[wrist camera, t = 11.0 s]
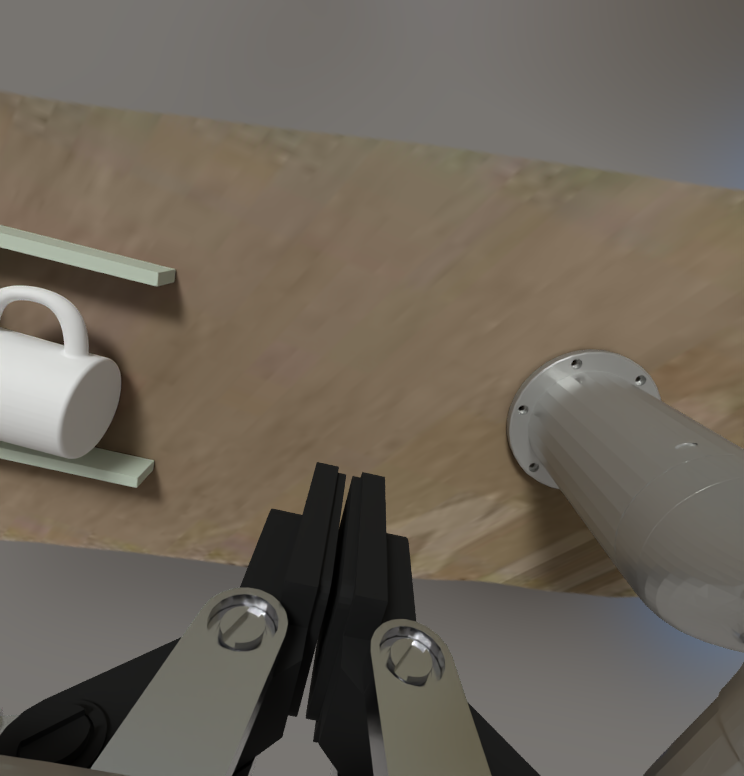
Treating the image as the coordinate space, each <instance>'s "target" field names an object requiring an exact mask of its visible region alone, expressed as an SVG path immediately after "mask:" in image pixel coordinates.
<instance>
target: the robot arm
mask: <svg viewBox="0 0 744 776" xmlns="http://www.w3.org/2000/svg"><path fill="white" fill-rule="evenodd" d="M573 360H575V362H574V363H573V364H571V363H572V362H573ZM522 405H523V407H522V408H521V409H518V408H519V407H520V406H522ZM507 437H508V442H509V446H510V448H511V450H512V453H513V455H514V457H515V458H516V460H517V461H518V463H519V465H520V466H521V467H522V468H523V470H524V471H525V472H526V473H527V474H528V475H529V476H531V477H532V478H534V479H535V480H537V481H538V482H540V483H542V484H544V485H546V486H549V487H551V488H556V489H560V490H561V491H562V493H563V494H564V496H565V497H566V498H567V500H568V501H569V502H570V504H571V505H572V507H573V508H574V509H575V511H576V512H577V514H578V515H579V516H580V518H581V519H582V520H583V522H584V523H585V525H586V526H587V527H588V529H589V530H590V531H591V533H592V534H593V536H594V537H595V538H596V540H597V541H598V542H599V544H600V545H601V547H602V548H603V549H604V551H605V552H606V553H607V555H608V556H609V558H610V559H611V560H612V562H613V563H614V564H615V566H616V567H617V569H618V570H619V571H620V573H621V574H622V575H623V577H624V578H625V579H626V580H627V582H628V583H629V584H630V586H631V587H632V589H633V590H634V591H635V593H636V594H637V595H638V596H639V598H640V599H641V600H642V601H643V602H644V603H645V605H647V607H649V608H650V610H652V611H653V612H654V613H655V614H656V615H657V616H658V617H659V618H661V619H662V620H664V621H665V622H666V623H668V624H669V625H671V626H673V627H674V628H676V629H677V630H679V631H681V632H683V633H685V634H687V635H690V636H692V637H695V638H697V639H700V640H702V641H704V642H707V643H710V644H714V645H717V646H720V647H724V648H727V649H731V650H735V651H739V652H744V449H743V448H741V447H739V446H738V445H736V444H734V443H732V442H731V441H729V440H727V439H726V438H724V437H722V436H720V435H719V434H717V433H715V432H714V431H712V430H710V429H708V428H707V427H705V426H703V425H702V424H700V423H698V422H697V421H695V420H693V419H691V418H690V417H688V416H686V415H685V414H683V413H681V412H679V411H678V410H676V409H674V408H673V407H671V406H669V405H667V404H666V403H664V402H662V401H661V398H660V394H659V391H658V388H657V386H656V384H655V383H654V381H653V379H652V378H651V376H650V375H649V374H648V373H647V372H646V371H645V370H644V369H643V368H642V367H641V366H640V365H638V364H637V363H635V362H633V361H632V360H630V359H628V358H626V357H624V356H622V355H620V354H617V353H613V352H610V351H606V350H594V349H588V350H580V351H573V352H570V353H567V354H564V355H560V356H558V357H556V358H554V359H552V360H550V361H548V362H546V363H545V364H544V365H542V366H541V367H540V368H538V369H537V370H535V371H534V372H533V373H532V374H531V375H530V376H529V377H528V378H527V379H526V380H525V381H524V382H523V384H522V385H521V387H520V388H519V390H518V391H517V393H516V394H515V396H514V399H513V401H512V403H511V406H510V409H509V413H508V418H507ZM532 463H533V464H532ZM530 464H531V465H530ZM338 469H339V467H337V466H333V465H328V464H324V463H319V462H317V464H316V468H315V471H314V475H313V479H312V482H311V486H310V490H309V493H308V497H307V501H306V504H305V508H304V512H303V515H300V514H295V513H290V512H286V511H281V510H276V509H271V510H270V513H269V515H268V518H267V520H266V523H265V525H264V528H263V530H262V533H261V535H260V538H259V540H258V543H257V546H256V548H255V551H254V553H253V556H252V558H251V561H250V563H249V566H248V568H247V571H246V574H245V576H244V578H243V581H242V584H241V586H240V588H234V589H230V590H226V591H223V592H221V593H219V594H217V595H216V596H214V597H212V598H211V599H210V600H209V601H208V602H207V603H206V604H205V605H204V606H203V607H202V609H201V610H200V612H199V613H198V614H197V616H196V617H195V619H194V620H193V622H192V623H191V625H190V626H189V627H188V629H187V630H186V632H185V633H184V635H183V636H182V637H181V638H179V639H176V640H174V641H172V642H170V643H168V644H165V645H163V646H161V647H159V648H157V649H155V650H152V651H150V652H148V653H146V654H143V655H141V656H139V657H137V658H135V659H133V660H130V661H128V662H126V663H124V664H122V665H119V666H117V667H115V668H113V669H111V670H109V671H107V672H104V673H102V674H100V675H98V676H95V677H93V678H91V679H89V680H86V681H84V682H82V683H80V684H78V685H76V686H73V687H71V688H69V689H67V690H64V691H62V692H60V693H58V694H56V695H53V696H52V697H49V698H47V699H45V700H43V701H41V702H39V703H38V704H36V705H34V706H32V707H31V708H29V709H27V710H26V711H24V712H23V713H22V714H21V715H15V716H3V715H2V714H3V713H2V708H0V776H251V775H252V773H253V770H254V767H255V763H256V759H257V755H259V754H260V753H261V752H262V751H264V750H265V749H267V748H268V747H269V746H271V745H272V744H274V743H275V742H276V741H278V740H279V739H280V738H282V736H283V732H284V728H285V725H286V720H287V717H288V715H290V716H295V717H296V716H297V715H298V711H299V707H300V703H301V700H302V696H303V692H304V688H305V685H306V681H307V677H308V673H309V670H310V666H311V662H312V658H313V654H314V651H315V647H316V652H315V660H314V666H313V672H312V679H311V685H310V693H309V699H308V705H307V712H306V719H311V720H316V724H315V732H314V740H313V742H318V743H319V745H320V747H321V748H322V750H323V751H324V753H325V754H326V755H327V757H328V758H329V759H330V761H331V763H332V766H331V773H330V776H540V775H539V774H538V773H537V772H536V771H535V770H534V769H533V768H532V767H531V766H530V765H529V764H528V763H527V762H526V761H525V760H524V759H523V758H522V757H521V756H520V755H519V754H518V753H517V752H516V751H515V750H514V749H513V748H512V747H511V746H510V745H509V744H508V743H507V742H506V741H505V739H504V738H503V737H502V736H501V735H499V734H498V733H497V732H496V730H495V729H494V728H493V727H492V726H491V725H490V724H489V723H487V721H486V720H485V719H484V718H483V717H482V716H481V715H480V714H479V713H478V712H477V711H476V710H475V709H474V708H473V707H472V706H471V705H470V704H469V703H468V702H467V699H466V697H465V693H464V690H463V688H462V684H461V681H460V678H459V675H458V672H457V669H456V666H455V663H454V660H453V657H452V655H451V653H450V651H449V649H448V647H447V645H446V644H445V643H444V641H443V640H442V639H441V638H440V637H439V635H438V634H436V633H435V632H434V631H432V630H431V629H430V628H428V627H426V626H425V625H422V624H420V623H418V622H416V614H415V605H414V594H413V583H412V573H411V563H410V552H409V543H408V539H407V538H406V537H402V536H398V535H393V534H388V533H386V502H385V477H382V476H378V475H373V474H369V473H364V472H363V473H362V475H361V478H359V477H355V476H353V477H352V480H351V484H350V488H349V492H348V496H347V500H346V504H345V507H344V511H343V515H342V519H341V523H340V516H341V509H342V502H343V494H344V487H345V480H346V474H341V473H338ZM339 524H340V527H339ZM316 643H317V646H316ZM643 776H744V662H743V664H742V666H741V668H740V669H739V670H738V671H737V673H736V674H735V675H734V676H733V677H732V679H731V680H730V681H729V682H728V683H727V684H726V685H725V686H724V687H723V688H722V689H721V691H720V692H719V696H718V697H717V698H716V699H715V700H714V702H713V703H711V705H710V706H709V707H708V708H707V709H706V710H705V711H704V712H703V713H702V714H701V715H700V716H699V717H698V718H697V719H696V720H695V721H694V722H693V723H692V724H691V725H690V726H689V727H688V728H687V729H686V730H685V731H684V732H683V733H682V734H681V735H680V737H678V738H677V739H676V740H675V741H674V742H673V743H672V745H671V746H670V747H669V748H668V749H667V750H666V751H665V752H664V753H663V754H662V755H661V756H660V757H659V758H658V759H657V760H656V761H655V762H654V763H653V764H652V765H651V767H650V768H649V769H648V770H647V771H646V772H645V774H644V775H643Z"/></svg>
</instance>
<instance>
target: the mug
mask: <svg viewBox="0 0 744 776" xmlns="http://www.w3.org/2000/svg"><path fill="white" fill-rule="evenodd" d="M16 300H28V301H33V302H37V303H40V304H43V305H45V306H47V307H48V308H49V309H51V310H52V311H53V312H54V314H55V315H56V316H57V318H58V320H59V322H60V325H61V328H62V331H63V338H64V345H61V344H58V343H54V342H51V341H47V340H44V339H40V338H37V337H33V336H30V335H26V334H23V333H19V332H16V331H12V330H9V329H5V328H2V327H0V441H3V442H7V443H11V444H15V445H19V446H22V447H26V448H30V449H34V450H37V451H41V452H45V453H49V454H53V455H56V456H60V457H64V458H68V459H76V458H79V457H82V456H83V455H85V454H87V453H88V452H89V451H91V450H92V449H93V448H94V447H95V446H96V445H97V443H98V442H99V441H100V440H101V438H102V437H103V435H104V434H105V432H106V431H107V429H108V427H109V425H110V423H111V421H112V419H113V417H114V414H115V412H116V409H117V406H118V402H119V398H120V392H121V374H120V370H119V368H118V366H117V364H116V363H115V362H114V361H113V360H111V359H109V358H106V357H103V356H99V355H96V354H92V353H89V343H88V333H87V328H86V325H85V322H84V319H83V317H82V315H81V314H80V312H79V311H78V309H77V308H76V307H75V306H74V305H73V304H72V303H71V302H70V301H69V300H67V299H66V298H64V297H63V296H61V295H59V294H57V293H55V292H52V291H50V290H46V289H43V288H38V287H33V286H9V287H4V288H1V289H0V318H1V315H2V312H3V310H4V308H5V307H6V306H7V305H8V304H9V303H11V302H13V301H16Z"/></svg>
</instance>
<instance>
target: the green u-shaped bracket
mask: <svg viewBox="0 0 744 776" xmlns="http://www.w3.org/2000/svg"><path fill="white" fill-rule="evenodd" d="M0 247H1V248H5V249H9V250H13V251H17V252H21V253H25V254H29V255H33V256H37V257H41V258H45V259H49V260H53V261H57V262H61V263H65V264H69V265H73V266H77V267H81V268H85V269H89V270H93V271H97V272H101V273H105V274H109V275H113V276H117V277H121V278H125V279H129V280H133V281H137V282H141V283H145V284H149V285H153V286H161V285H165V284H169V283H173V282H174V281H175V272H176V269H172V268H168V267H164V266H160V265H156V264H153V263H149V262H145V261H141V260H137V259H133V258H129V257H125V256H121V255H117V254H113V253H109V252H105V251H101V250H97V249H94V248H90V247H86V246H82V245H78V244H74V243H70V242H66V241H62V240H58V239H54V238H50V237H46V236H42V235H38V234H35V233H31V232H27V231H23V230H19V229H15V228H11V227H7V226H3V225H0ZM0 458H1V459H5V460H10V461H15V462H19V463H24V464H29V465H33V466H38V467H42V468H47V469H52V470H56V471H61V472H66V473H70V474H75V475H79V476H84V477H89V478H93V479H98V480H102V481H107V482H112V483H116V484H121V485H126V486H130V487H135V488H137V487H138V486H139V485H140V484H141V483H142V482H143V481H144V480H145V478H146V477H147V476H148V475H149V474H150V473H151V472H152V471H153V468H154V460H150V459H145V458H141V457H136V456H132V455H127V454H123V453H118V452H114V451H109V450H105V449H100V448H96V447H94V448H93V449H92V450H91V451H89V452H88V453H87V454H85V455H83V456H82V457H79V458H76V459H68V458H64V457H60V456H56V455H53V454H49V453H45V452H41V451H37V450H34V449H30V448H26V447H22V446H19V445H15V444H11V443H7V442H3V441H0Z"/></svg>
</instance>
